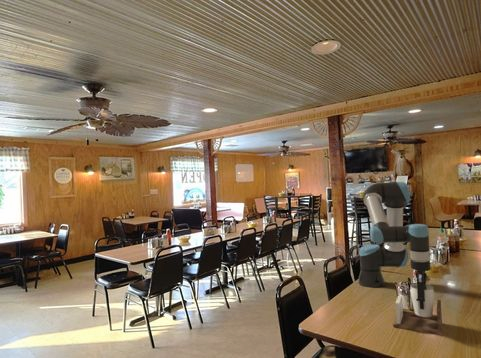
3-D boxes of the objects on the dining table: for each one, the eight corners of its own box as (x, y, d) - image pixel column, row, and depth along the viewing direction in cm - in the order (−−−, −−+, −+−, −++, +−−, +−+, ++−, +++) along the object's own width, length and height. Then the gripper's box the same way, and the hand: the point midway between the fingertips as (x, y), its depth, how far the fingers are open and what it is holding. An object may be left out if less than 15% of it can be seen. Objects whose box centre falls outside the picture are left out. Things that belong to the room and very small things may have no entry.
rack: (393, 326, 143) (391, 303, 143) (397, 315, 154) (396, 294, 154) (441, 335, 133) (440, 310, 133) (442, 323, 144) (440, 299, 144)
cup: (414, 308, 148) (412, 282, 148) (437, 312, 142) (435, 285, 142) (409, 315, 141) (408, 287, 141) (433, 320, 135) (431, 291, 135)
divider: (396, 323, 143) (395, 302, 143) (399, 314, 151) (398, 295, 152) (400, 324, 142) (399, 303, 142) (403, 315, 151) (402, 295, 151)
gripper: (428, 266, 131) (432, 323, 130) (431, 255, 149) (434, 305, 148) (407, 265, 135) (411, 320, 134) (412, 254, 153) (415, 302, 153)
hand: (423, 312), depth 141 cm, fingers closed on cup, 9 cm apart
